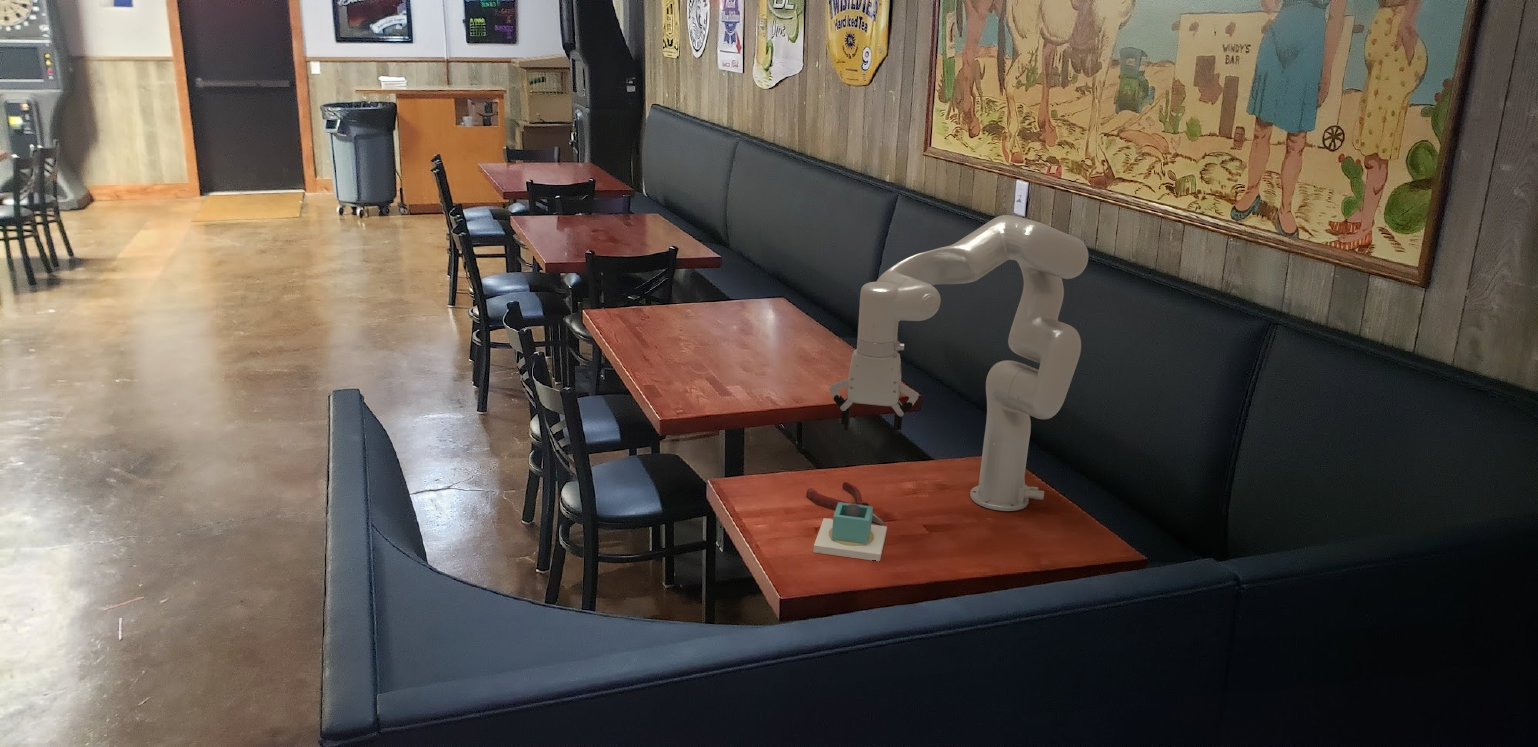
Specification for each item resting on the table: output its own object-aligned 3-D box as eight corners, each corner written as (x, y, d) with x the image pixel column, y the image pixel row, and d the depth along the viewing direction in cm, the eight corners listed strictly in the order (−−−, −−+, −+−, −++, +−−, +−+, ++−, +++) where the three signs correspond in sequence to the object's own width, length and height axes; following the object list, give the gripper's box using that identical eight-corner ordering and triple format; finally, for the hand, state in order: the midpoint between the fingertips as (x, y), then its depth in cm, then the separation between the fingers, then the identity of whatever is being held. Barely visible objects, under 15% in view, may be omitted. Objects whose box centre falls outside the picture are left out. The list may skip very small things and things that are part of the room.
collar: (871, 529, 228) (873, 506, 227) (867, 544, 222) (869, 520, 220) (836, 524, 229) (838, 501, 228) (831, 539, 223) (833, 516, 221)
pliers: (855, 535, 230) (856, 523, 229) (803, 498, 247) (804, 486, 246) (900, 526, 236) (901, 514, 235) (847, 490, 252) (848, 479, 252)
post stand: (886, 533, 231) (889, 498, 229) (879, 561, 219) (883, 525, 216) (823, 524, 233) (825, 490, 231) (813, 552, 221) (815, 516, 219)
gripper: (923, 345, 219) (916, 428, 224) (834, 337, 222) (829, 419, 227) (920, 356, 212) (914, 441, 217) (829, 348, 215) (824, 432, 220)
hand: (871, 430), depth 222 cm, fingers open, 9 cm apart
